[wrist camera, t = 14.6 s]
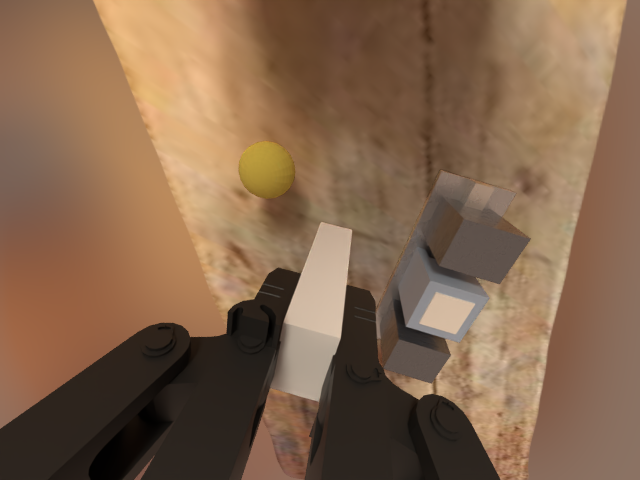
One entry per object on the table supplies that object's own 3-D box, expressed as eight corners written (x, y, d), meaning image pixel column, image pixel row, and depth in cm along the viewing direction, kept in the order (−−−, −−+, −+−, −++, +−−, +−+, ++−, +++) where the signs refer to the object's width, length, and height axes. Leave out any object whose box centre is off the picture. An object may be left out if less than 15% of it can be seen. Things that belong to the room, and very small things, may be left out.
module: (416, 247, 40) (430, 281, 32) (464, 260, 40) (490, 299, 32) (397, 287, 44) (406, 327, 35) (441, 299, 43) (460, 344, 35)
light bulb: (310, 179, 39) (295, 198, 30) (268, 189, 41) (241, 211, 32) (297, 130, 37) (276, 136, 28) (252, 143, 38) (219, 153, 29)
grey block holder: (439, 169, 36) (465, 188, 27) (512, 191, 36) (562, 216, 27) (366, 330, 50) (366, 378, 41) (419, 347, 49) (431, 399, 40)
